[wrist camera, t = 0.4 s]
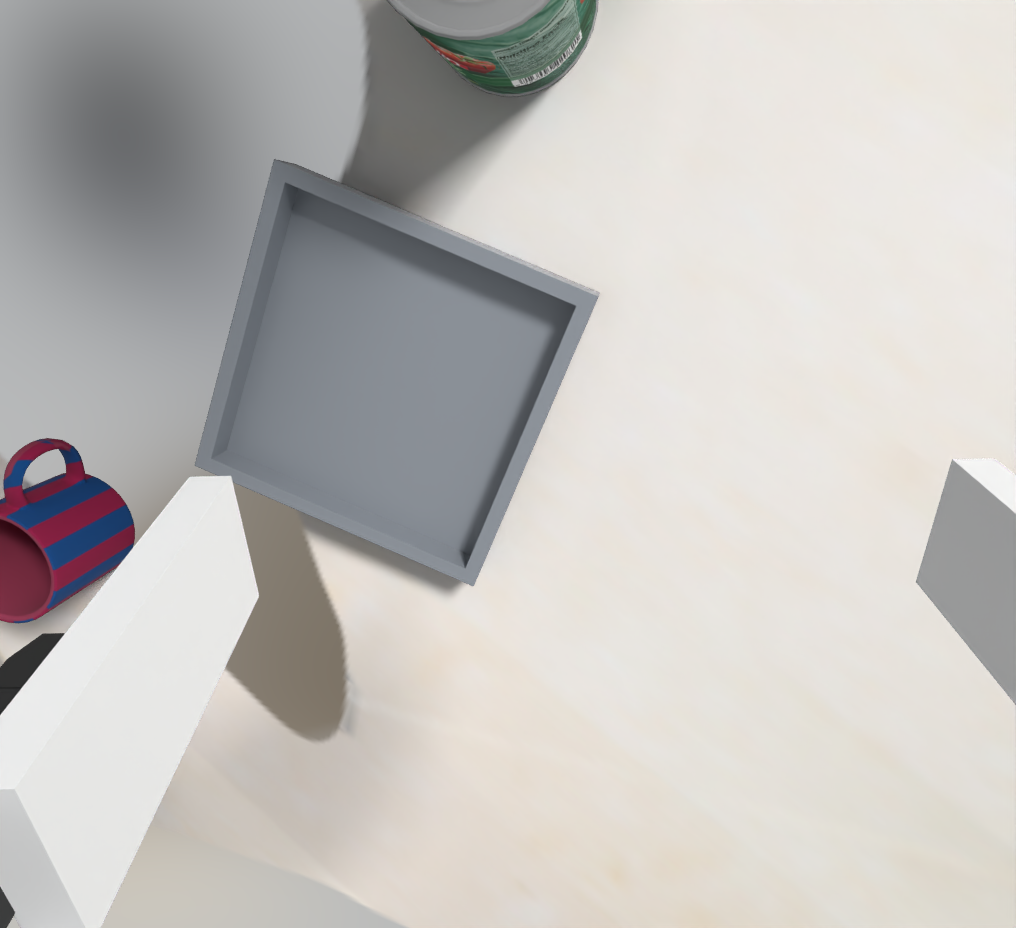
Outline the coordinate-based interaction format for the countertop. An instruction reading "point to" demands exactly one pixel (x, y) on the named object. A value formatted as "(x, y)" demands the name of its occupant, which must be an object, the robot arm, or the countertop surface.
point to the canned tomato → (505, 39)
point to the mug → (56, 534)
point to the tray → (387, 371)
